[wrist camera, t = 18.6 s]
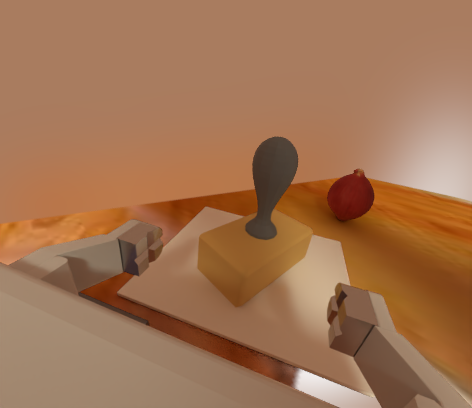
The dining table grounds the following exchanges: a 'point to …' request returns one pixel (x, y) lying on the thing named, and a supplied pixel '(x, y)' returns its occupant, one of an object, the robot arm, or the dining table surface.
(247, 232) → the rubber stamp
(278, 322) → the paper
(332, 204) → the onion
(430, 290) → the dining table surface
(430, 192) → the dining table surface
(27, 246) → the dining table surface
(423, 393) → the robot arm
